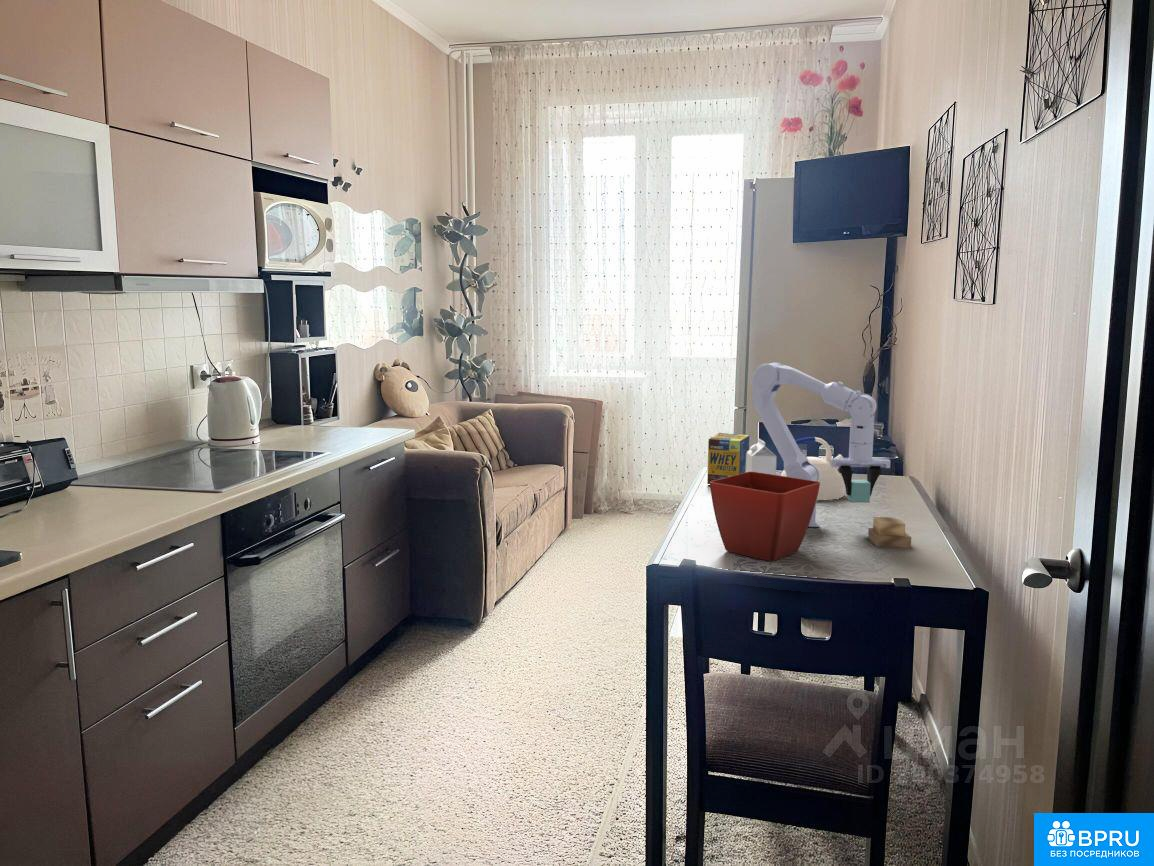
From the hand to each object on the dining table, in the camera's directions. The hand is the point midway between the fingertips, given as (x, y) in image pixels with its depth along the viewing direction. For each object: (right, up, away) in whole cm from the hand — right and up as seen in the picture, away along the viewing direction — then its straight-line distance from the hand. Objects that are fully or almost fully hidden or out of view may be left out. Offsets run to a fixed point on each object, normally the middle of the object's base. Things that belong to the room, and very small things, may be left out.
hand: (858, 494), depth 218 cm
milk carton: (-19, -5, +31) cm, 36 cm away
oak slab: (+4, -8, -10) cm, 14 cm away
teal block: (0, -2, 0) cm, 2 cm away
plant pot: (-29, -12, -18) cm, 36 cm away
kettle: (0, -3, +46) cm, 46 cm away
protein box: (-22, -1, +63) cm, 67 cm away
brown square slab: (+4, -11, -10) cm, 16 cm away
